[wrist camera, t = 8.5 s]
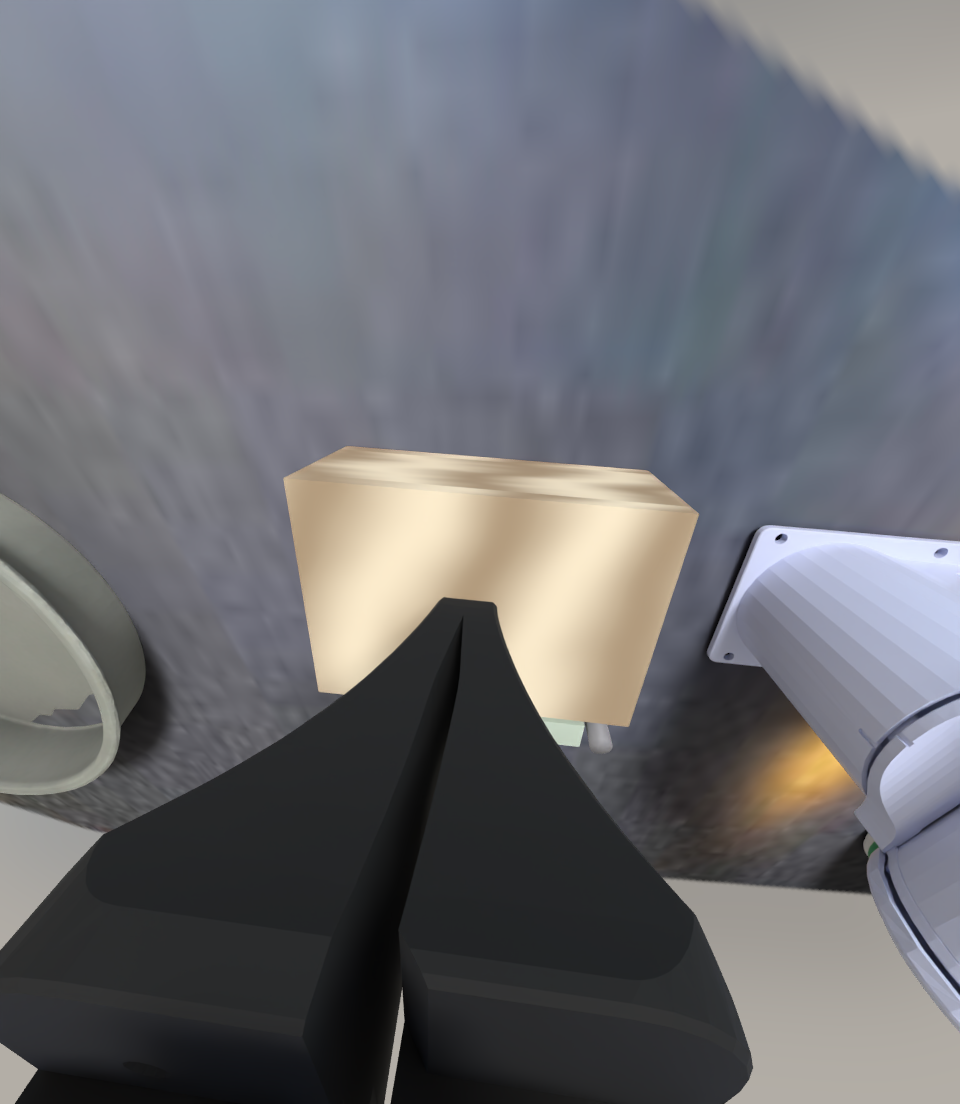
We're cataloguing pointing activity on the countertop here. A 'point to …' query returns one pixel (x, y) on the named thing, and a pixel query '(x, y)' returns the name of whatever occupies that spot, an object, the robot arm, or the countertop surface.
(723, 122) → the countertop surface
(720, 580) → the countertop surface
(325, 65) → the countertop surface
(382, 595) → the cabinet
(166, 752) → the countertop surface
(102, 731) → the cake pan
